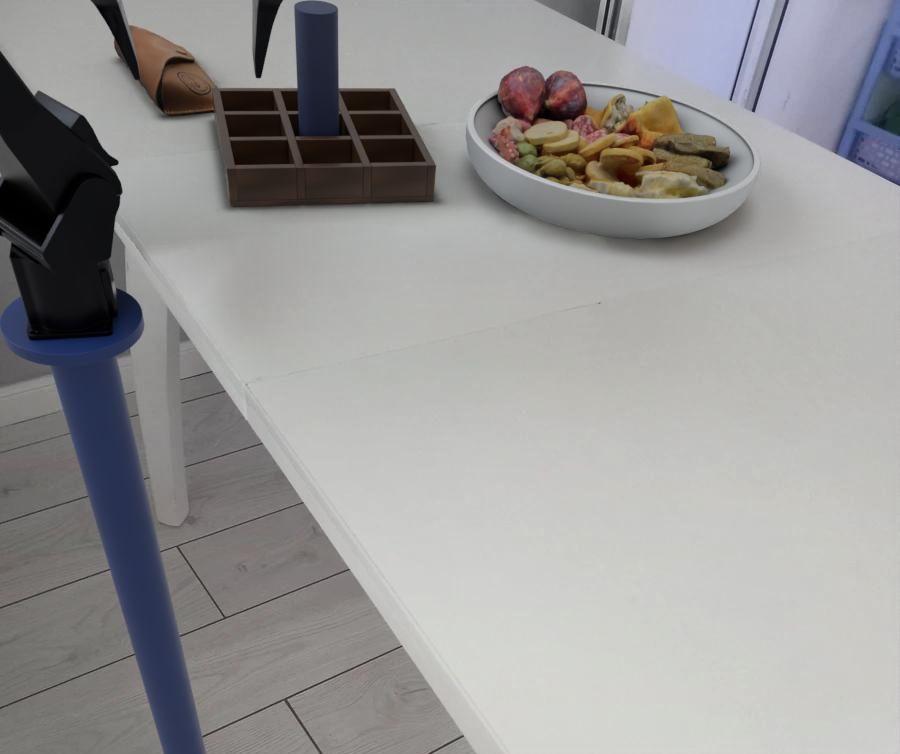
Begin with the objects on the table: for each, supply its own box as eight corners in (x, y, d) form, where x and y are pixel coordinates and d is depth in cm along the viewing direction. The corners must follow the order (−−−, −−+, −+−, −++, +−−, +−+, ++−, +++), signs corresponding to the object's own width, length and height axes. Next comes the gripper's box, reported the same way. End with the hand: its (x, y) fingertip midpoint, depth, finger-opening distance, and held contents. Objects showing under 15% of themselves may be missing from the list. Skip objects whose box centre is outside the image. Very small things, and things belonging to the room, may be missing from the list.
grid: (230, 206, 84) (226, 168, 81) (215, 122, 96) (211, 87, 93) (433, 201, 88) (436, 164, 85) (393, 121, 100) (395, 88, 98)
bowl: (792, 192, 97) (820, 115, 91) (652, 288, 80) (676, 201, 74) (566, 106, 108) (579, 33, 102) (403, 175, 91) (406, 91, 85)
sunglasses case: (234, 104, 98) (197, 48, 93) (185, 144, 99) (145, 91, 93) (185, 49, 108) (148, -4, 103) (140, 86, 109) (102, 35, 103)
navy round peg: (330, 164, 90) (328, 16, 80) (293, 156, 90) (287, 8, 81) (344, 150, 92) (344, 5, 83) (308, 142, 93) (304, -3, 83)
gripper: (1, -163, 51) (70, 123, 63) (325, -152, 55) (333, 116, 67) (14, -200, 58) (74, 64, 70) (300, -187, 62) (311, 61, 74)
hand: (198, 77), depth 70 cm, fingers open, 9 cm apart
